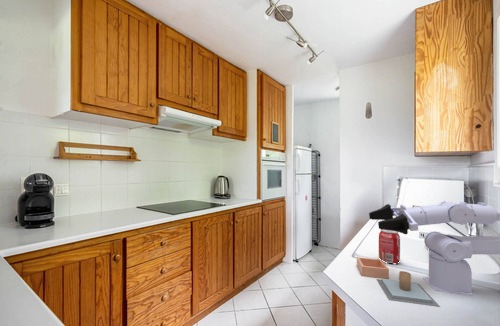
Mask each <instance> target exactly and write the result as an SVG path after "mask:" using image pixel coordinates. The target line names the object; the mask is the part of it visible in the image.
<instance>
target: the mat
mask: <svg viewBox="0 0 500 326" xmlns="http://www.w3.org/2000/svg"><path fill="white" fill-rule="evenodd" d="M375 279H376V281H377V283H378V285H379V287H380V288H381V290H382V292H383V293H384V294H385V296H386V298H387V300H388V301H392V302H401V303H407V304H414V305H422V306H429V307H437V308H441V306H440V305H439V304H438V302H436V300H435V299H434V298H433V297H432V296H431V295H430V294H429V293H428V292H427V290H426V289H424V288H423V287H422V286H421V285H420V283H417V284H418V285H419V286H420V288H421V289H422V290H423V291H424V292H425V293H426V294H427V295H428V296H429V297H430V298H431V299H432V303H425V302H418V301H410V300H403V299H395V298H392V297H391V295H390V294H389V292H388V290H387V289H386V287H385V286H384V284H383V283H382V278H375Z"/></svg>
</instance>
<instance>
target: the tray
mask: <svg viewBox="0 0 500 326" xmlns="http://www.w3.org/2000/svg"><path fill="white" fill-rule="evenodd" d="M356 268H357V270H358V272H359V273H360V275H361V277H367V278H375V279H381V280H382V279H388V280H390V269H389V267H388V266H387V265H386V263H384V262H383V261H382V260H380V259H379V258H378V259H377V258H371V257H370V258H368V257H360V256H359V257H356Z"/></svg>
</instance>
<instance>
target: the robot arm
mask: <svg viewBox="0 0 500 326" xmlns="http://www.w3.org/2000/svg"><path fill="white" fill-rule="evenodd" d="M399 206H400V207H395V206H391V204H389V203H387V204H385V205H384V206H382V207H381V208H379V209H376V210H373V211H370V212H368V215H369V219H370V220H375V221H377V222H378V223H377V225H378V229H379V230H381V229H382V230H391V231H396V232H398V233H401V234H403V235H408V233H409V231H411V232H415V231H416V232H417V231H419V227H420V226H429V225H440V224H446V223H447V224H449V223H454V224H457V225H458V224H459V225H461V226H463V225H467V224H478V225H493V224H495V223H497V222H500V209H496V208H494V207H493V206H492V205H490V204H487V203H486V202H477V203H467V202H464V201H461V202H460V203H455V202H452V201H445V200H444V201H441V202H440V203H438V204H430V205H429V204H428V205H421V206H420V205H419V206H411V207H406V205H404V204H400V205H399ZM379 220H380V221H379ZM423 242H424V245H425V247H426V248H427V249H428V277H422V279H423V280H424V281H425V282H426V283H427V284H428V285H429V286H430V287H431V288H432V289H433V290H434V291H437V292H444V293H453V294H460V295H470V296H474V292H472V289H473V288H472V279H473V278H472V276H473V275H472V273H473V272H472V268H471V265H470V264H469V262H468V261H467V260H465V259H471V258H472V257H473V255H476V256H477V255H500V235H471V236H470V235H468V236H467V235H466V236H464V235H463V236H461V235H455V234H451V233H446V234H445V233H441V232H440V231H430V232H428V233H427V234H426V235H425V236H424V241H423Z"/></svg>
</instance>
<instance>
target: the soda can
mask: <svg viewBox="0 0 500 326" xmlns="http://www.w3.org/2000/svg"><path fill="white" fill-rule="evenodd" d="M379 258H380V259H381V260H383V261H385V262H387V263H398V262H399V261H400V260H401V236H400V234H399V232H396V231H391V230H382V229H380V231H379V232H378V259H379ZM399 263H400V262H399ZM399 263H398V264H399Z"/></svg>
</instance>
